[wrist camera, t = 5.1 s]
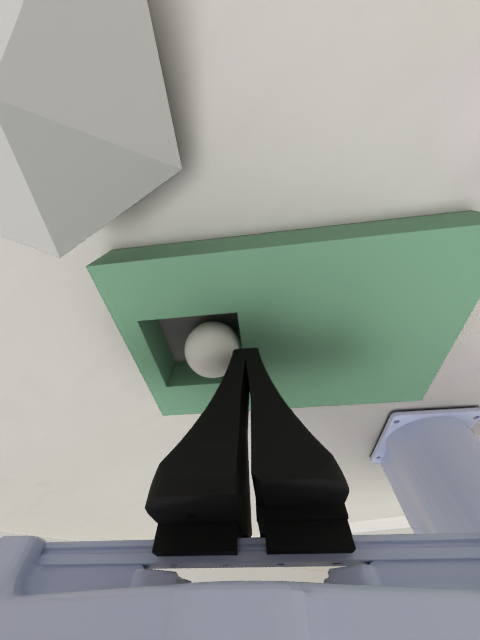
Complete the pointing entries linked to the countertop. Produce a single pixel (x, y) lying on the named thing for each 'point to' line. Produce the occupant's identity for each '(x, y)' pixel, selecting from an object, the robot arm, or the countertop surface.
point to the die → (78, 118)
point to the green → (302, 307)
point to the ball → (211, 348)
